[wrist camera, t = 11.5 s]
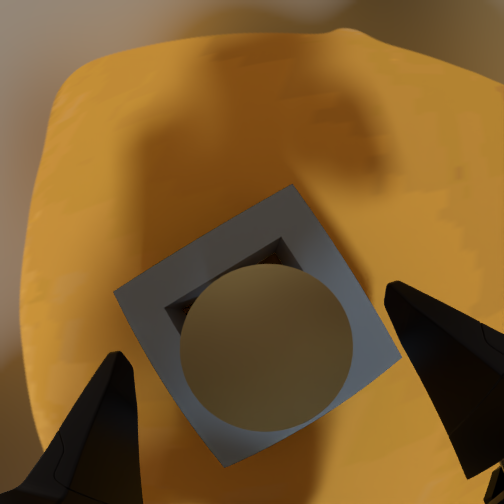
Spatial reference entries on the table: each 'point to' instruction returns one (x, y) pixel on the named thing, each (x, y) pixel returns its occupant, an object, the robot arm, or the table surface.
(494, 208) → the table surface
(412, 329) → the robot arm
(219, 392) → the walnut pin
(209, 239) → the socket block
